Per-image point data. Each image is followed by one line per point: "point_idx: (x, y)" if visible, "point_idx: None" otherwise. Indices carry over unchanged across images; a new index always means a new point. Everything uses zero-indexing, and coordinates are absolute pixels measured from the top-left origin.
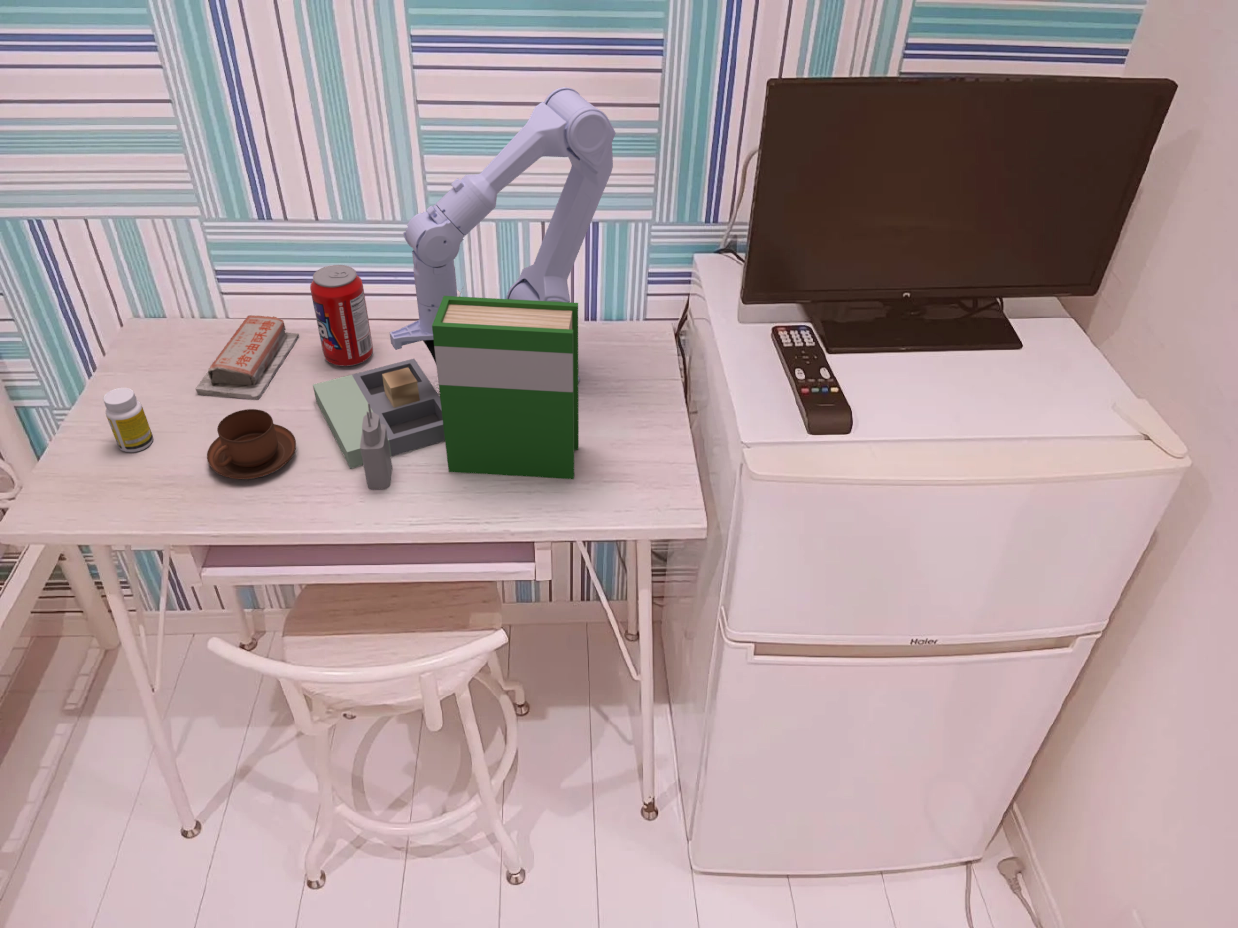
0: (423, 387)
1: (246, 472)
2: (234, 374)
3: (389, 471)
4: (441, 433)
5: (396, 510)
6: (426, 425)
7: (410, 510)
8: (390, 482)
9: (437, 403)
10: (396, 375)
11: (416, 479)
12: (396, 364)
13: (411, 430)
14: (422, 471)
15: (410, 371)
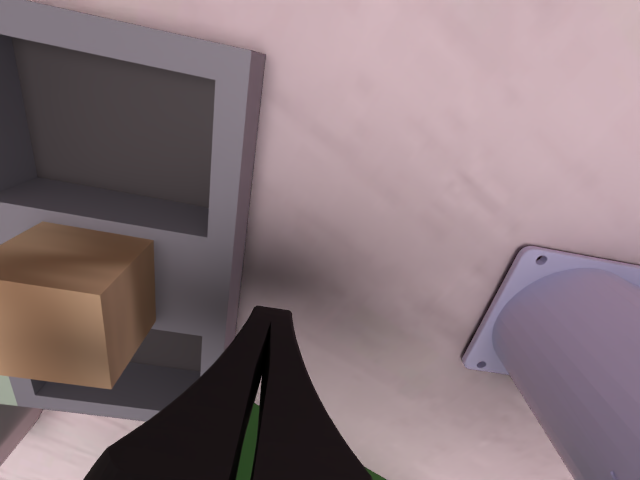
0: (196, 270)
1: None
2: None
3: (22, 434)
4: None
5: (38, 463)
6: (135, 409)
7: (64, 472)
8: (38, 417)
9: (203, 358)
10: (27, 317)
11: (96, 429)
12: (146, 43)
13: (88, 406)
14: (115, 420)
15: (103, 325)
